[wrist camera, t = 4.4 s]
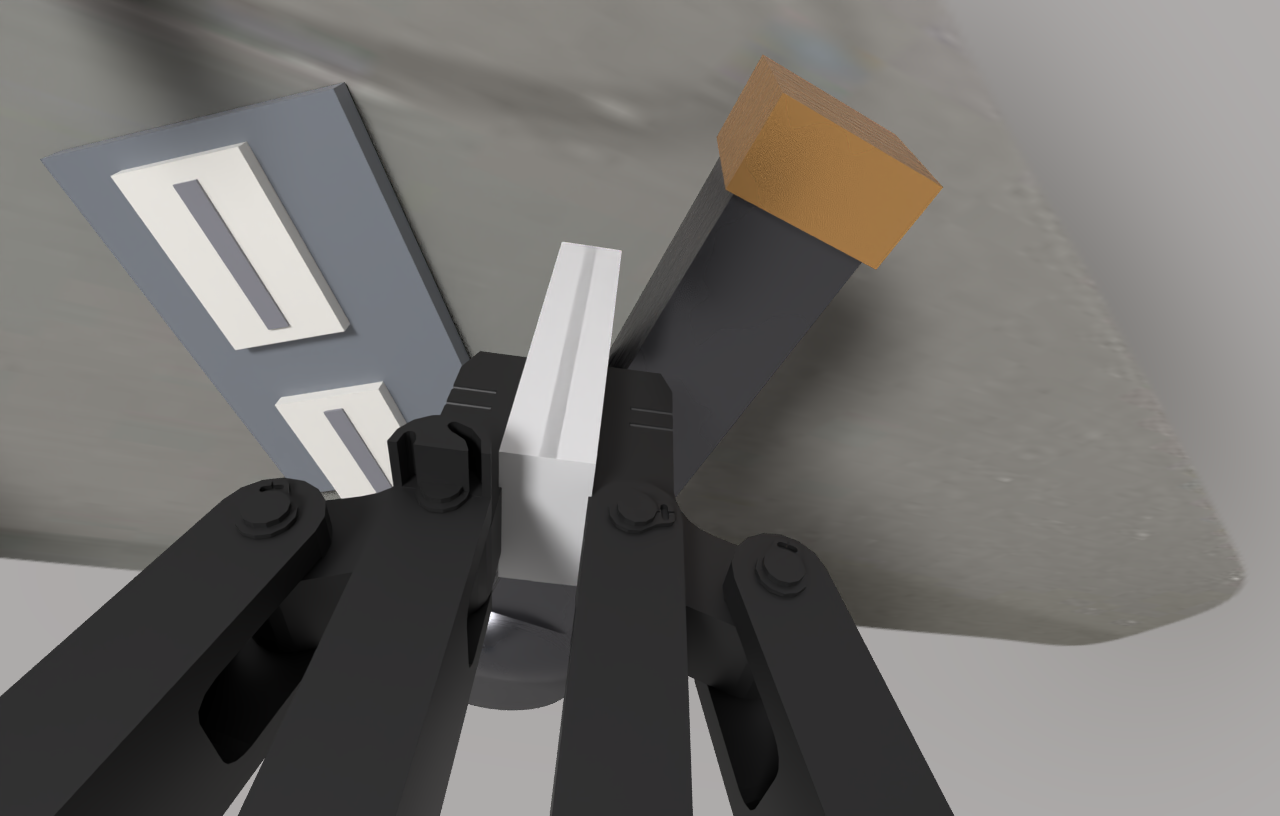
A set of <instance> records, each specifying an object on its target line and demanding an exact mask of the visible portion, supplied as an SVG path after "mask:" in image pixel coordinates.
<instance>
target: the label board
mask: <svg viewBox="0 0 1280 816" xmlns="http://www.w3.org/2000/svg"><path fill="white" fill-rule="evenodd" d="M40 160H41V161H42V163H43V164H44V165H45V167H46V168H47V169H48V170H49V172H50V173H51V174H52V176H53V177H54V178H55V180H56V181H57V182H58V183H59V185H60V186H61V187H62V189H63V190H64V191H65V193H66V194H67V195H68V196H69V198H70V199H71V200H72V202H73V203H74V204H75V205H76V207H77V208H78V209H79V211H80V212H81V213H82V215H83V216H84V217H85V218H86V220H87V221H88V222H89V224H90V225H91V226H92V227H93V229H94V230H95V231H96V233H97V234H98V235H99V237H100V238H101V239H102V240H103V242H104V243H105V244H106V246H107V247H108V248H109V249H110V251H111V252H112V253H113V255H114V256H115V257H116V259H117V260H118V261H119V262H120V264H121V265H122V266H123V268H124V269H125V270H126V271H127V273H128V274H129V275H130V277H131V278H132V279H133V281H134V282H135V283H136V284H137V286H138V287H139V288H140V290H141V291H142V292H143V294H144V295H145V296H146V297H147V299H148V300H149V301H150V303H151V304H152V305H153V306H154V308H155V309H156V310H157V312H158V313H159V314H160V316H161V317H162V318H163V319H164V321H165V322H166V323H167V325H168V326H169V327H170V328H171V330H172V331H173V332H174V334H175V335H176V336H177V338H178V339H179V340H180V341H181V343H182V344H183V345H184V347H185V348H186V349H187V350H188V352H189V353H190V354H191V356H192V357H193V358H194V360H195V361H196V362H197V363H198V365H199V366H200V367H201V369H202V370H203V371H204V372H205V374H206V375H207V376H208V378H209V379H210V380H211V382H212V383H213V384H214V385H215V387H216V388H217V389H218V391H219V392H220V393H221V395H222V396H223V397H224V398H225V400H226V401H227V402H228V404H229V405H230V406H231V407H232V409H233V410H234V411H235V413H236V414H237V415H238V417H239V418H240V419H241V420H242V422H243V423H244V424H245V426H246V427H247V428H248V429H249V431H250V432H251V433H252V435H253V436H254V437H255V439H256V440H257V441H258V442H259V444H260V445H261V446H262V448H263V449H264V450H265V451H266V453H267V454H268V455H269V457H270V458H271V459H272V461H273V462H274V463H275V464H276V466H277V467H278V468H279V470H280V471H281V472H282V474H283V475H284V476H285V477H286V478H290V479H297V480H303V481H306V482H307V483H309V484H311V485H313V486H314V487H316V488H318V489H319V491H320V492H324V491H331V490H336V491H337V493H338V494H339V496H340V497H341V498H342V499H343V498H351V497H359V496H365V495H370V494H374V493H379V492H381V491H384V490H386V489H389V488H391V487H393V480H392V473H391V466H390V459H389V452H388V445H387V440H388V439H389V438H390V437H391V436H392V434H393V433H394V432H395V431H396V430H397V429H398V428H399V427H401V426H403V425H405V424H407V423H408V422H410V421H412V420H414V419H418V418H422V417H426V416H430V415H440V414H441V412H442V410H443V408H444V405H446V402H447V398H448V396H449V394H450V391H451V389H453V385H454V382H455V380H456V378H457V375H458V373H459V371H460V368H461V366H462V365H464V364H465V363H466V362H467V361H469V360H470V358H469V356H468V354H467V352H466V350H465V347H464V345H463V343H462V341H461V338H460V336H459V334H458V332H457V330H456V327H455V325H454V323H453V321H452V319H451V316H450V314H449V312H448V310H447V308H446V305H445V303H444V301H443V299H442V296H441V294H440V292H439V290H438V288H437V285H436V283H435V281H434V279H433V277H432V274H431V272H430V270H429V268H428V266H427V263H426V261H425V259H424V257H423V254H422V252H421V250H420V248H419V246H418V243H417V241H416V239H415V237H414V235H413V232H412V230H411V228H410V226H409V223H408V221H407V219H406V217H405V215H404V212H403V210H402V208H401V206H400V204H399V201H398V199H397V197H396V195H395V193H394V190H393V188H392V186H391V184H390V181H389V179H388V177H387V175H386V173H385V170H384V168H383V166H382V164H381V162H380V159H379V157H378V155H377V153H376V151H375V148H374V146H373V144H372V142H371V139H370V137H369V135H368V133H367V131H366V128H365V126H364V124H363V122H362V120H361V117H360V115H359V113H358V111H357V109H356V106H355V104H354V102H353V100H352V97H351V95H350V93H349V91H348V89H347V86H346V84H345V82H343V83H339V84H335V85H331V86H327V87H322V88H318V89H314V90H310V91H306V92H302V93H298V94H294V95H289V96H285V97H281V98H277V99H273V100H269V101H265V102H260V103H256V104H252V105H248V106H244V107H240V108H236V109H231V110H227V111H223V112H219V113H215V114H211V115H207V116H202V117H198V118H194V119H190V120H186V121H182V122H178V123H174V124H169V125H165V126H161V127H157V128H153V129H149V130H145V131H140V132H136V133H132V134H128V135H124V136H120V137H116V138H111V139H107V140H103V141H99V142H95V143H91V144H87V145H82V146H78V147H74V148H70V149H66V150H62V151H58V152H56V153H54V154H51V155H49V156H47V157H44V158H42V159H40Z"/></svg>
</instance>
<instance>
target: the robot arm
mask: <svg viewBox="0 0 1280 816" xmlns="http://www.w3.org/2000/svg"><path fill="white" fill-rule="evenodd" d="M621 252H622V250H615V249H608V248H601V247H595V246H588V245H582V244H575V243H568V242H562V244H561V247H560V250H559V253H558V257H557V260H556V263H555V267H554V270H553V273H552V277H551V280H550V283H549V287H548V290H547V293H546V297H545V300H544V303H543V307H542V310H541V313H540V317H539V320H538V323H537V327H536V330H535V333H534V337H533V340H532V343H531V347H530V350H529V353H528V356H527V357H520V356H512V355H505V354H497V353H490V352H482V351H480V352H479V353H477V354H476V355H475V356H474V357H472V358H471V359H470V360H469V361H467V362H466V363H465V364H464V365H462V366H461V368H460V371H459V373H458V375H457V378H456V380H455V382H454V385H453V389H451V391H450V394H449V396H448V398H447V402H446V405H444V408H443V410H442V412H441V414H440V415H430V416H426V417H422V418H418V419H414V420H412V421H410V422H408V423H407V424H405V425H403V426H401V427H399V428H398V429H397V430H396V431H395V432H394V433H393V434H392V436H391V437H390V438H389V439H388V440H387V445H388V452H389V459H390V466H391V473H392V480H393V487H391V488H389V489H386V490H384V491H381V492H379V493H374V494H370V495H365V496H359V497H351V498H343V499H335V500H327V501H325V499H324V497H323V496H322V494H321V492H320V491H319V489H318V488H316V487H314V486H313V485H311V484H309V483H307V482H306V481H303V480H297V479H290V478H277V479H268V480H262V481H259V482H256V483H253V484H250V485H247V486H245V487H242V488H240V489H239V490H237V491H236V492H234V493H232V494H231V495H229V496H228V497H226V498H225V499H223V500H222V501H221V502H220V503H219V504H218V505H216V506H215V507H214V508H213V509H212V510H211V511H210V512H209V513H207V514H206V515H205V516H204V517H203V518H202V519H201V520H199V521H198V522H197V523H196V524H195V525H194V526H193V527H192V528H190V529H189V530H188V531H187V532H186V533H185V534H184V535H183V536H181V537H180V538H179V539H178V540H177V541H176V542H175V543H173V544H172V545H171V546H170V547H169V548H168V549H167V550H166V551H164V552H163V553H162V554H161V555H160V556H159V557H158V558H156V559H155V560H154V561H153V562H152V563H151V564H150V565H149V566H147V567H146V568H145V569H144V570H143V571H142V572H141V573H140V574H138V575H137V576H136V577H135V578H134V579H133V580H132V581H130V582H129V583H128V584H127V585H126V586H125V587H124V588H123V589H122V590H120V591H119V592H118V593H117V594H116V595H115V596H114V597H112V598H111V599H110V600H109V601H108V602H107V603H106V604H104V605H103V606H102V607H101V608H100V609H99V610H98V611H97V612H95V613H94V614H93V615H92V616H91V617H90V618H89V619H87V620H86V621H85V622H84V623H83V624H82V625H81V626H80V627H78V628H77V629H76V630H75V631H74V632H73V633H72V634H70V635H69V636H68V637H67V638H66V639H65V640H64V641H63V642H62V643H60V645H58V646H57V647H56V648H55V649H54V650H52V651H51V652H50V653H49V654H48V655H47V656H46V657H44V658H43V659H42V660H41V661H40V662H39V663H38V664H37V665H35V666H34V667H33V668H32V669H31V670H30V671H29V672H28V673H26V674H25V675H24V676H23V677H22V678H21V679H20V680H19V681H17V682H16V683H15V684H14V685H13V686H12V687H11V688H9V689H8V690H7V691H6V692H5V693H4V694H3V695H1V697H0V816H223V814H224V813H225V812H226V810H227V809H228V808H229V806H230V805H231V803H232V802H233V801H234V799H235V798H236V797H237V795H238V794H239V792H240V791H241V790H242V788H243V787H244V785H245V784H246V783H247V782H248V780H249V779H250V777H251V776H252V775H253V773H254V772H255V771H256V769H257V768H258V766H259V765H260V764H261V762H262V761H263V759H264V758H265V759H264V761H263V763H262V766H261V768H260V770H259V772H258V774H257V776H256V778H255V780H254V782H253V785H252V787H251V789H250V791H249V793H248V795H247V797H246V799H245V801H244V804H243V806H242V808H241V810H240V812H239V814H238V816H440V813H441V809H442V805H443V801H444V797H445V793H446V789H447V785H448V781H449V777H450V773H451V769H452V766H453V761H454V758H455V753H456V750H457V746H458V742H459V738H460V734H461V730H462V726H463V722H464V718H465V714H466V710H467V706H468V702H469V698H470V694H471V690H472V686H473V682H474V678H475V674H476V670H477V666H478V662H479V658H480V654H481V651H482V647H483V643H484V639H485V635H486V631H487V627H488V623H489V619H490V615H491V611H492V587H493V583H494V579H495V575H496V571H497V567H498V577H503V578H512V579H521V580H530V581H535V582H544V583H554V584H563V585H572V586H577V587H576V595H575V612H574V619H573V627H572V634H571V642H570V652H569V661H568V669H567V677H566V686H565V694H564V702H563V711H562V719H561V727H560V736H559V744H558V752H557V760H556V768H555V776H554V785H553V793H552V801H551V810H550V816H693V809H692V778H691V751H690V750H691V749H690V719H689V691H688V676H690V677H692V678H694V679H695V684H696V687H697V691H698V695H699V698H700V701H701V705H702V708H703V712H704V715H705V719H706V722H707V726H708V729H709V733H710V736H711V740H712V743H713V746H714V750H715V753H716V757H717V760H718V764H719V767H720V771H721V774H722V777H723V781H724V785H725V788H726V791H727V795H728V798H729V802H730V805H731V809H732V812H733V816H954V814H953V812H952V810H951V809H950V807H949V805H948V803H947V801H946V799H945V797H944V795H943V793H942V791H941V789H940V787H939V786H938V784H937V782H936V780H935V778H934V776H933V774H932V772H931V770H930V768H929V766H928V764H927V762H926V761H925V758H924V757H923V755H922V753H921V751H920V749H919V747H918V745H917V743H916V741H915V739H914V737H913V735H912V733H911V731H910V729H909V728H908V726H907V724H906V722H905V720H904V718H903V716H902V714H901V712H900V710H899V708H898V706H897V704H896V702H895V701H894V699H893V697H892V695H891V693H890V691H889V689H888V687H887V685H886V683H885V681H884V679H883V677H882V675H881V674H880V672H879V670H878V668H877V666H876V664H875V662H874V660H873V658H872V656H871V654H870V652H869V650H868V648H867V646H866V645H865V643H864V641H863V639H862V637H861V635H860V633H859V631H858V629H857V627H856V625H855V623H854V621H853V619H852V618H851V616H850V614H849V612H848V610H847V608H846V606H845V604H844V602H843V600H842V598H841V596H840V594H839V592H838V591H837V589H836V587H835V585H834V583H833V581H832V579H831V577H830V575H829V573H828V571H827V569H826V568H825V566H824V565H823V564H822V562H821V561H820V560H819V558H818V557H817V556H816V554H815V553H814V552H812V551H811V550H810V549H808V548H807V547H805V546H804V545H803V544H801V543H800V542H798V541H796V540H793V539H790V538H788V537H785V536H783V535H776V534H759V535H756V536H752V537H749V538H747V539H746V540H744V541H743V542H742V543H741V544H740V545H739V546H737V545H735V544H732V543H730V542H727V541H725V540H722V539H720V538H717V537H715V536H712V535H710V534H708V533H706V532H704V531H702V530H700V529H699V528H698V527H696V526H695V525H694V524H693V523H691V522H690V521H689V520H688V519H687V518H686V517H685V515H684V514H683V513H682V512H681V510H680V508H679V506H678V504H677V502H676V500H675V494H674V464H673V432H672V431H673V416H672V413H673V399H672V391H671V389H670V388H669V386H668V384H667V383H666V381H665V379H664V378H663V376H662V375H661V374H659V373H652V372H644V371H637V370H629V369H622V368H614V367H608V360H609V351H610V343H611V335H612V327H613V318H614V310H615V302H616V293H617V285H618V277H619V269H620V260H621Z"/></svg>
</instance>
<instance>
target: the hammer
mask: <svg viewBox="0 0 1280 816" xmlns="http://www.w3.org/2000/svg"><path fill="white" fill-rule="evenodd" d="M717 142H718V148H719V154H720V157H719V159H718V161H717V162H716V164H715V166H714V168H713V169H712V171H711V173H710V175H709V177H708V178H707V180H706V182H705V184H704V185H703V187H702V189H701V191H700V192H699V194H698V196H697V198H696V199H695V201H694V203H693V205H692V206H691V208H690V210H689V212H688V213H687V215H686V217H685V219H684V220H683V222H682V224H681V226H680V227H679V229H678V231H677V233H676V234H675V236H674V238H673V240H672V241H671V243H670V245H669V247H668V248H667V250H666V252H665V254H664V255H663V257H662V259H661V261H660V263H659V264H658V266H657V268H656V270H655V271H654V273H653V275H652V277H651V278H650V280H649V282H648V284H647V285H646V287H645V289H644V291H643V292H642V294H641V296H640V298H639V299H638V301H637V303H636V305H635V306H634V308H633V310H632V312H631V313H630V315H629V317H628V319H627V320H626V322H625V324H624V326H623V327H622V329H621V331H620V333H619V334H618V336H617V338H616V340H615V341H614V343H613V345H612V347H611V349H610V351H609V360H608V367H614V368H622V369H629V370H637V371H644V372H652V373H659V374H661V375H662V376H663V378H664V379H665V381H666V383H667V384H668V386H669V388H670V389H671V391H672V399H673V413H672V416H673V431H672V432H673V464H674V494H675V497H676V496H677V495H678V494H679V492H680V491H681V490H682V489H683V487H684V486H685V485H686V484H687V482H688V481H689V480H690V479H691V477H692V476H693V475H694V473H695V472H696V471H697V470H698V468H699V467H700V466H701V465H702V463H703V462H704V461H705V460H706V458H707V457H708V456H709V455H710V453H711V452H712V451H713V449H714V448H715V447H716V446H717V444H718V443H719V442H720V441H721V439H722V438H723V437H724V436H725V434H726V433H727V432H728V431H729V429H730V428H731V427H732V425H733V424H734V423H735V422H736V420H737V419H738V418H739V417H740V415H741V414H742V413H743V412H744V410H745V409H746V408H747V407H748V405H749V404H750V403H751V401H752V400H753V399H754V398H755V396H756V395H757V394H758V393H759V391H760V390H761V389H762V388H763V386H764V385H765V384H766V383H767V381H768V380H769V379H770V377H771V376H772V375H773V374H774V372H775V371H776V370H777V369H778V367H779V366H780V365H781V364H782V362H783V361H784V360H785V359H786V357H787V356H788V355H789V353H790V352H791V351H792V350H793V348H794V347H795V346H796V345H797V343H798V342H799V341H800V340H801V338H802V337H803V336H804V335H805V333H806V332H807V331H808V329H809V328H810V327H811V326H812V324H813V323H814V322H815V321H816V319H817V318H818V317H819V316H820V314H821V313H822V312H823V311H824V309H825V308H826V307H827V305H828V304H829V303H830V302H831V300H832V299H833V298H834V297H835V295H836V294H837V293H838V292H839V290H840V289H841V288H842V287H843V285H844V284H845V283H846V281H847V280H848V279H849V278H850V276H851V275H852V274H853V273H854V271H855V270H856V269H857V268H858V266H859V265H860V264H861V263H862V262H863V263H864V264H866V265H868V266H870V267H872V268H874V269H877V268H878V267H879V265H880V264H881V263H882V262H883V261H884V259H885V258H886V257H887V256H888V254H889V253H890V252H891V251H892V249H893V248H894V247H895V246H896V245H897V243H898V242H899V241H900V240H901V238H902V237H903V236H904V235H905V233H906V232H907V231H908V230H909V229H910V227H911V226H912V225H913V224H914V222H915V221H916V220H917V219H918V218H919V216H920V215H921V214H922V213H923V211H924V210H925V209H926V208H927V206H928V205H929V204H930V203H931V202H932V200H933V199H934V198H935V197H936V195H937V194H938V193H939V192H940V190H941V189H942V188H943V187H942V186H941V184H940V183H939V182H938V181H937V180H936V179H935V178H934V177H933V176H932V174H931V173H930V172H929V171H928V170H927V169H926V168H925V167H924V166H923V165H922V163H921V162H920V161H919V160H918V159H917V158H916V157H915V156H914V155H913V153H912V152H911V151H910V150H909V149H908V148H907V147H906V146H905V145H904V144H903V142H902V141H901V140H900V139H899V138H898V137H897V136H896V135H895V134H894V133H892V132H890V131H889V130H887V129H885V128H884V127H882V126H880V125H879V124H877V123H875V122H874V121H872V120H870V119H869V118H867V117H865V116H864V115H862V114H860V113H859V112H857V111H855V110H854V109H852V108H850V107H849V106H847V105H845V104H844V103H842V102H840V101H839V100H837V99H836V98H834V97H832V96H831V95H829V94H827V93H826V92H824V91H822V90H821V89H819V88H817V87H816V86H814V85H812V84H811V83H809V82H807V81H806V80H804V79H802V78H801V77H799V76H797V75H796V74H794V73H792V72H791V71H789V70H787V69H786V68H784V67H783V66H781V65H779V64H778V63H776V62H774V61H773V60H771V59H769V58H768V57H766V56H764V55H762V57H761V59H760V60H759V62H758V64H757V66H756V68H755V69H754V71H753V73H752V75H751V77H750V78H749V80H748V82H747V84H746V86H745V87H744V89H743V91H742V93H741V95H740V96H739V98H738V100H737V102H736V104H735V105H734V107H733V109H732V111H731V113H730V114H729V116H728V118H727V120H726V121H725V123H724V125H723V127H722V129H721V130H720V132H719V134H718V136H717ZM576 587H577V586H572V585H563V584H554V583H544V582H535V581H530V580H521V579H512V578H503V577H498V567H497V571H496V575H495V579H494V583H493V587H492V611H491V615H490V619H489V623H488V627H487V631H486V635H485V639H484V643H483V647H482V651H481V654H480V658H479V662H478V666H477V670H476V674H475V678H474V682H473V686H472V690H471V694H470V698H469V702H468V704H470V705H474V706H479V707H484V708H489V709H498V710H526V709H534V708H539V707H543V706H547V705H550V704H553V703H555V702H557V701H558V700H561V699H562V698H564V694H565V686H566V677H567V669H568V661H569V652H570V642H571V634H572V627H573V619H574V612H575V595H576Z"/></svg>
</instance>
